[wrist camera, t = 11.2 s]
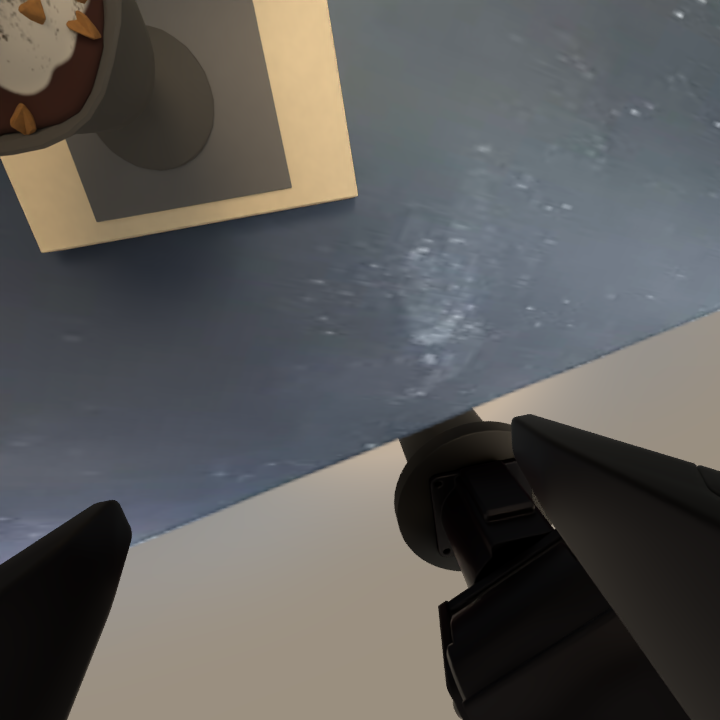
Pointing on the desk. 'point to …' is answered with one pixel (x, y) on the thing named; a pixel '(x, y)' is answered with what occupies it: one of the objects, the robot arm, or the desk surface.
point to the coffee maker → (227, 138)
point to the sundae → (99, 82)
